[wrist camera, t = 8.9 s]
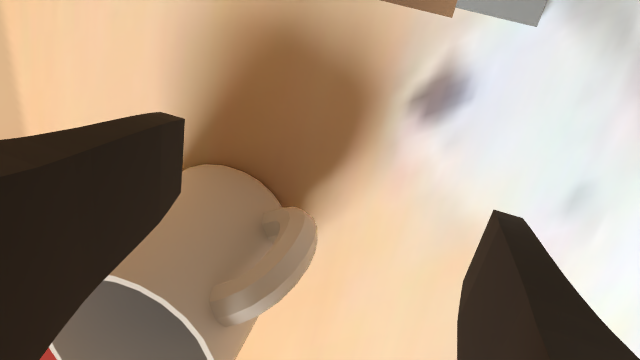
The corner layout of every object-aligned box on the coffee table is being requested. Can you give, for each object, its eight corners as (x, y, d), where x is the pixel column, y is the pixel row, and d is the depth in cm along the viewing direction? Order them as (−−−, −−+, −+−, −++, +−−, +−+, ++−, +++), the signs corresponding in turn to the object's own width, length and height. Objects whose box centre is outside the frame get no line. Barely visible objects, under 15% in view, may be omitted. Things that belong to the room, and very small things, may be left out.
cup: (138, 183, 27) (4, 294, 19) (304, 120, 23) (215, 231, 15) (208, 291, 29) (112, 429, 22) (369, 252, 25) (320, 406, 17)
